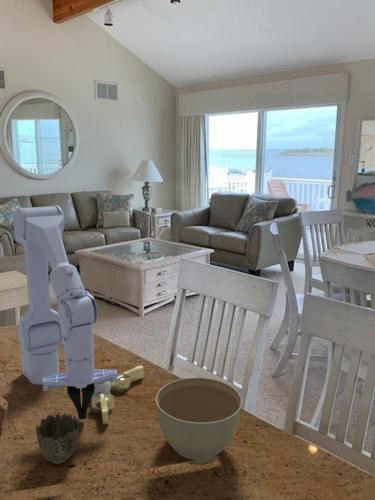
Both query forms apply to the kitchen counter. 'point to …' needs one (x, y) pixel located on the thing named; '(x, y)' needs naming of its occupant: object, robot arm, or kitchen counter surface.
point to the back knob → (127, 379)
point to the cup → (58, 437)
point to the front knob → (103, 405)
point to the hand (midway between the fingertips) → (82, 416)
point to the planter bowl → (198, 417)
